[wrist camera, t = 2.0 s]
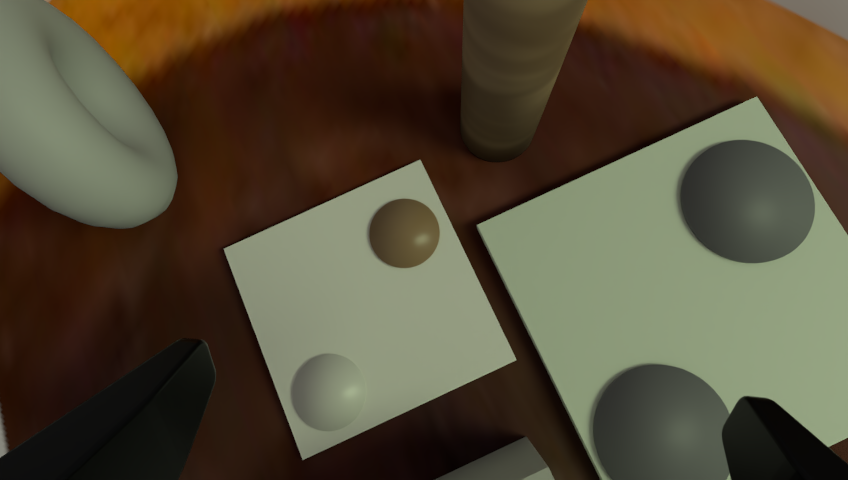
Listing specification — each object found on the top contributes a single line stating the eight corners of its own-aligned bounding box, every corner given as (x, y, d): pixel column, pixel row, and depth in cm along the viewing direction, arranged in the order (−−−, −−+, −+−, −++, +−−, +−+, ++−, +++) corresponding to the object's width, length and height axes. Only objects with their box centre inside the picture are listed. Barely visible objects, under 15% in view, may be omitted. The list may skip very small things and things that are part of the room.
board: (627, 535, 20) (634, 543, 19) (476, 227, 23) (477, 223, 22) (933, 387, 20) (953, 389, 20) (748, 102, 23) (759, 94, 22)
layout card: (304, 458, 21) (301, 460, 21) (226, 250, 23) (222, 248, 23) (515, 359, 22) (516, 360, 21) (420, 161, 24) (420, 158, 23)
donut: (79, 94, 25) (-157, -58, 16) (139, 62, 26) (-56, -109, 16) (157, 262, 23) (-56, 210, 14) (222, 225, 24) (57, 147, 14)
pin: (479, 174, 23) (510, -20, 11) (448, 111, 24) (441, -142, 11) (547, 143, 23) (658, -86, 11) (513, 81, 24) (581, -204, 11)
